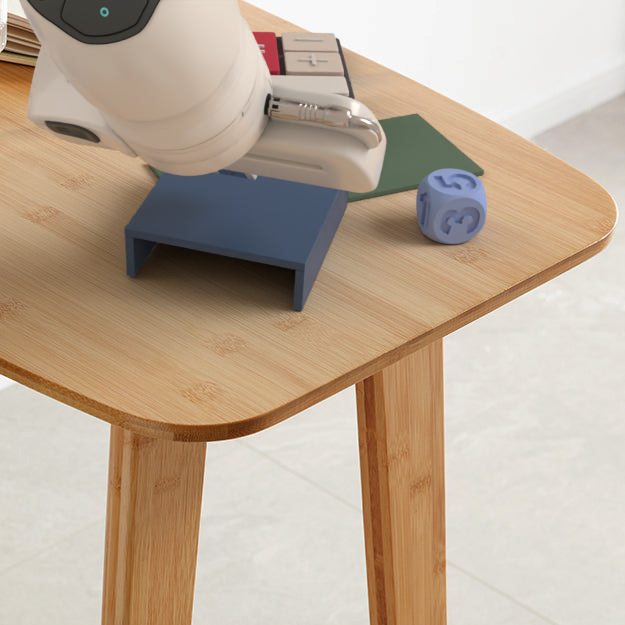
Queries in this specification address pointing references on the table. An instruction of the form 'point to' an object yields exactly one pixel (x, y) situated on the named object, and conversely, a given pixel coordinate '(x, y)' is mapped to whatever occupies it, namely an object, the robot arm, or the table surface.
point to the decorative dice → (451, 206)
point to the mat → (410, 156)
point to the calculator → (306, 61)
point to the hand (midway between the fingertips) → (237, 165)
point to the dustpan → (240, 222)
